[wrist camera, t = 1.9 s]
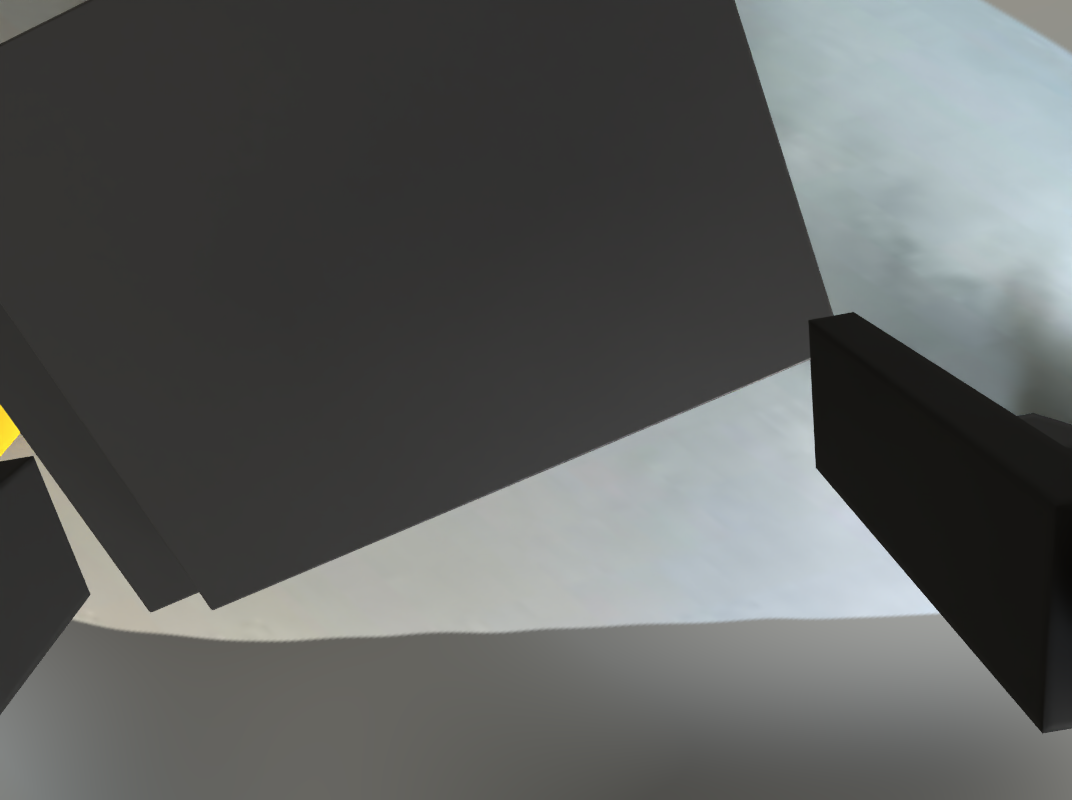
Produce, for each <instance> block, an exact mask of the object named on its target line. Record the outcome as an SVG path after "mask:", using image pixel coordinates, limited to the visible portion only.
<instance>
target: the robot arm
mask: <svg viewBox="0 0 1072 800" xmlns="http://www.w3.org/2000/svg"><path fill="white" fill-rule="evenodd" d="M808 323H809V342H810V362H811V381H812V400H813V420H814V439H815V459H816V468H817V470H818V471H819V472H820V473H821V474H822V475H823V477H824V478H825V479H826V480H827V481H828V482H829V484H830V485H831V486H832V487H833V488H834V489H835V491H836V492H837V493H838V494H839V495H840V496H841V498H842V499H843V500H844V501H845V502H846V504H847V505H848V506H849V507H850V508H851V509H852V511H853V512H854V513H855V514H856V515H857V516H858V518H859V519H860V520H861V521H862V522H863V523H864V525H865V526H866V527H867V528H868V529H869V530H870V532H871V533H872V534H873V535H874V536H875V538H876V539H877V540H878V541H879V542H880V543H881V545H882V546H883V547H884V548H885V549H886V550H887V552H888V553H889V554H890V555H891V556H892V557H893V559H894V560H895V561H896V562H897V563H898V564H899V566H900V567H901V568H902V569H903V570H904V572H905V573H906V574H907V575H908V576H909V577H910V579H911V580H912V581H913V582H914V583H915V584H916V586H917V587H918V588H919V589H920V590H921V591H922V593H923V594H924V595H925V596H926V597H927V598H928V600H929V601H930V602H931V603H932V604H933V605H934V607H935V608H936V609H937V610H938V611H939V613H940V614H941V615H942V616H943V617H944V618H945V620H946V621H947V622H948V623H949V624H950V625H951V627H952V628H953V629H954V630H955V631H956V632H957V634H958V635H959V636H960V637H961V638H962V639H963V641H964V642H965V643H966V644H967V645H968V647H969V648H970V649H971V650H972V651H973V652H974V654H975V655H976V656H977V657H978V658H979V659H980V661H981V662H982V663H983V664H984V665H985V666H986V668H987V669H988V670H989V671H990V672H991V673H992V675H993V676H994V677H995V678H996V679H997V680H998V682H999V683H1000V684H1001V685H1002V686H1003V688H1004V689H1005V690H1006V691H1007V692H1008V693H1009V694H1010V696H1011V697H1012V698H1013V699H1014V700H1015V701H1016V703H1017V704H1018V705H1019V706H1020V707H1021V709H1022V710H1023V711H1024V712H1025V713H1026V715H1027V716H1028V717H1029V718H1030V719H1031V720H1032V721H1033V723H1034V724H1035V725H1036V726H1037V727H1038V728H1039V730H1040V731H1041V732H1042V733H1047V732H1053V731H1058V730H1065V729H1071V728H1072V424H1068V423H1065V422H1062V421H1058V420H1055V419H1051V418H1048V417H1045V416H1041V415H1038V414H1035V413H1031V414H1025V415H1020V416H1016V415H1014V414H1013V413H1011V412H1010V411H1008V410H1006V409H1005V408H1003V407H1002V406H1000V405H999V404H997V403H995V402H994V401H992V400H991V399H989V398H988V397H986V396H984V395H983V394H981V393H980V392H978V391H977V390H975V389H973V388H972V387H970V386H969V385H967V384H966V383H964V382H962V381H961V380H959V379H958V378H956V377H955V376H953V375H951V374H950V373H948V372H947V371H945V370H944V369H942V368H941V367H939V366H937V365H936V364H934V363H933V362H931V361H930V360H928V359H926V358H925V357H923V356H922V355H920V354H919V353H917V352H915V351H914V350H912V349H911V348H909V347H908V346H906V345H904V344H903V343H901V342H900V341H898V340H897V339H895V338H893V337H892V336H890V335H889V334H887V333H886V332H884V331H882V330H881V329H879V328H878V327H876V326H875V325H873V324H871V323H870V322H868V321H867V320H865V319H864V318H862V317H860V316H859V315H857V314H856V313H854V312H852V313H846V314H841V315H835V316H829V317H823V318H818V319H812V320H808ZM89 596H90V592H89V590H88V588H87V585H86V583H85V580H84V578H83V575H82V573H81V571H80V568H79V566H78V563H77V561H76V558H75V556H74V554H73V551H72V549H71V546H70V544H69V541H68V539H67V537H66V534H65V532H64V529H63V527H62V524H61V522H60V520H59V517H58V515H57V512H56V510H55V507H54V505H53V503H52V500H51V498H50V495H49V493H48V490H47V488H46V486H45V483H44V481H43V478H42V476H41V473H40V471H39V469H38V466H37V464H36V461H35V459H34V456H30V457H24V458H18V459H13V460H7V461H1V462H0V714H1V713H2V712H3V710H4V709H5V708H6V706H7V705H8V704H9V702H10V701H11V699H12V698H13V697H14V696H15V694H16V693H17V692H18V690H19V689H20V688H21V686H22V685H23V684H24V682H25V681H26V680H27V678H28V677H29V675H30V674H31V673H32V672H33V670H34V669H35V668H36V666H37V665H38V664H39V662H40V661H41V660H42V658H43V657H44V656H45V654H46V653H47V652H48V650H49V649H50V648H51V646H52V645H53V644H54V642H55V641H56V640H57V638H58V637H59V636H60V634H61V633H62V632H63V630H64V629H65V628H66V626H67V625H68V624H69V622H70V621H71V620H72V618H73V617H74V616H75V614H76V613H77V612H78V610H79V609H80V608H81V606H82V605H83V604H84V602H85V601H86V600H87V598H88V597H89Z"/></svg>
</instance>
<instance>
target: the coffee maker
mask: <svg viewBox="0 0 1072 800" xmlns="http://www.w3.org/2000/svg"><path fill="white" fill-rule="evenodd" d="M829 316H834V315H833V312H832V309H831V306H830V302H829V299H828V296H827V293H826V290H825V287H824V283H823V280H822V277H821V274H820V271H819V267H818V264H817V261H816V258H815V255H814V252H813V248H812V245H811V242H810V239H809V236H808V232H807V229H806V226H805V223H804V220H803V217H802V213H801V210H800V207H799V204H798V201H797V197H796V194H795V191H794V188H793V185H792V182H791V178H790V175H789V172H788V169H787V166H786V163H785V159H784V156H783V153H782V150H781V147H780V143H779V140H778V137H777V134H776V131H775V128H774V124H773V121H772V118H771V115H770V112H769V108H768V105H767V102H766V99H765V96H764V93H763V89H762V86H761V83H760V80H759V77H758V73H757V70H756V67H755V64H754V61H753V58H752V54H751V51H750V48H749V45H748V42H747V39H746V35H745V32H744V29H743V26H742V23H741V19H740V16H739V13H738V10H737V7H736V4H735V0H87V1H85V2H83V3H81V4H79V5H77V6H75V7H73V8H71V9H69V10H67V11H65V12H63V13H61V14H59V15H57V16H55V17H53V18H51V19H49V20H47V21H45V22H43V23H41V24H39V25H37V26H35V27H33V28H31V29H29V30H27V31H25V32H23V33H21V34H19V35H17V36H15V37H13V38H11V39H9V40H7V41H5V42H3V43H1V44H0V405H1V406H2V408H3V409H4V410H5V412H6V413H7V415H8V416H9V417H10V419H11V420H12V421H13V423H14V424H15V426H16V427H17V428H18V430H19V431H20V433H21V434H22V435H23V437H24V438H25V440H26V441H27V442H28V444H29V445H30V446H31V448H32V449H33V451H34V452H35V453H36V455H37V456H38V458H39V459H40V460H41V462H42V463H43V464H44V466H45V467H46V469H47V470H48V471H49V473H50V474H51V476H52V477H53V478H54V480H55V481H56V483H57V484H58V485H59V487H60V488H61V489H62V491H63V492H64V494H65V495H66V496H67V498H68V499H69V501H70V502H71V503H72V505H73V506H74V507H75V509H76V510H77V512H78V513H79V514H80V516H81V517H82V519H83V520H84V521H85V523H86V524H87V525H88V527H89V528H90V530H91V531H92V532H93V534H94V535H95V537H96V538H97V539H98V541H99V542H100V544H101V545H102V546H103V548H104V549H105V550H106V552H107V553H108V555H109V556H110V557H111V559H112V560H113V562H114V563H115V564H116V566H117V567H118V568H119V570H120V571H121V573H122V574H123V575H124V577H125V578H126V580H127V581H128V582H129V584H130V585H131V587H132V588H133V589H134V591H135V592H136V593H137V595H138V596H139V598H140V599H141V600H142V602H143V603H144V605H145V606H146V607H147V609H148V610H149V611H150V612H153V611H156V610H158V609H161V608H163V607H165V606H168V605H170V604H172V603H175V602H177V601H179V600H182V599H184V598H187V597H189V596H191V595H194V594H196V593H198V592H200V594H201V595H202V597H203V598H204V600H205V601H206V603H207V604H208V606H209V607H210V608H211V609H212V610H215V609H217V608H219V607H222V606H224V605H227V604H229V603H231V602H234V601H236V600H238V599H241V598H243V597H246V596H248V595H250V594H253V593H255V592H258V591H260V590H262V589H265V588H267V587H269V586H272V585H274V584H277V583H279V582H281V581H284V580H286V579H288V578H291V577H293V576H296V575H298V574H300V573H303V572H305V571H308V570H310V569H312V568H315V567H317V566H319V565H322V564H324V563H327V562H329V561H331V560H334V559H336V558H338V557H341V556H343V555H346V554H348V553H350V552H353V551H355V550H357V549H360V548H362V547H365V546H367V545H369V544H372V543H374V542H377V541H379V540H381V539H384V538H386V537H388V536H391V535H393V534H396V533H398V532H400V531H403V530H405V529H407V528H410V527H412V526H415V525H417V524H419V523H422V522H424V521H427V520H429V519H431V518H434V517H436V516H438V515H441V514H443V513H446V512H448V511H450V510H453V509H455V508H457V507H460V506H462V505H465V504H467V503H469V502H472V501H474V500H476V499H479V498H481V497H484V496H486V495H488V494H491V493H493V492H496V491H498V490H500V489H503V488H505V487H507V486H510V485H512V484H515V483H517V482H519V481H522V480H524V479H526V478H529V477H531V476H534V475H536V474H538V473H541V472H543V471H546V470H548V469H550V468H553V467H555V466H557V465H560V464H562V463H565V462H567V461H569V460H572V459H574V458H576V457H579V456H581V455H584V454H586V453H588V452H591V451H593V450H595V449H598V448H600V447H603V446H605V445H607V444H610V443H612V442H615V441H617V440H619V439H622V438H624V437H626V436H629V435H631V434H634V433H636V432H638V431H641V430H643V429H645V428H648V427H650V426H653V425H655V424H657V423H660V422H662V421H665V420H667V419H669V418H672V417H674V416H676V415H679V414H681V413H684V412H686V411H688V410H691V409H693V408H695V407H698V406H700V405H703V404H705V403H707V402H710V401H712V400H715V399H717V398H719V397H722V396H724V395H726V394H729V393H731V392H734V391H736V390H738V389H741V388H743V387H745V386H748V385H750V384H753V383H755V382H757V381H760V380H762V379H764V378H767V377H769V376H772V375H774V374H776V373H779V372H781V371H784V370H786V369H788V368H791V367H793V366H795V365H798V364H800V363H803V362H805V361H807V360H810V342H809V323H808V320H812V319H818V318H823V317H829Z"/></svg>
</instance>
